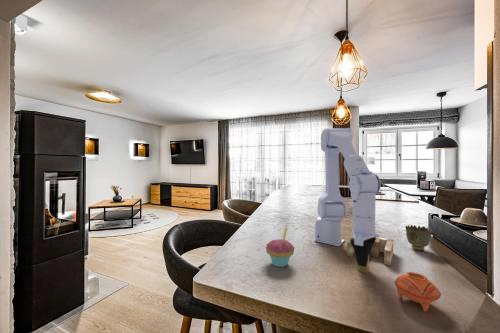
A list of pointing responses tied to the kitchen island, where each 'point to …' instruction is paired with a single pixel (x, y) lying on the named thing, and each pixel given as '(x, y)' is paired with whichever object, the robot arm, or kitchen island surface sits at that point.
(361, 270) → the tab block
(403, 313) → the kitchen island surface
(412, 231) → the cup
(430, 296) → the orange ridged rounded piece
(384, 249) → the beige blocky multi-part fixture
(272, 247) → the cupcake
